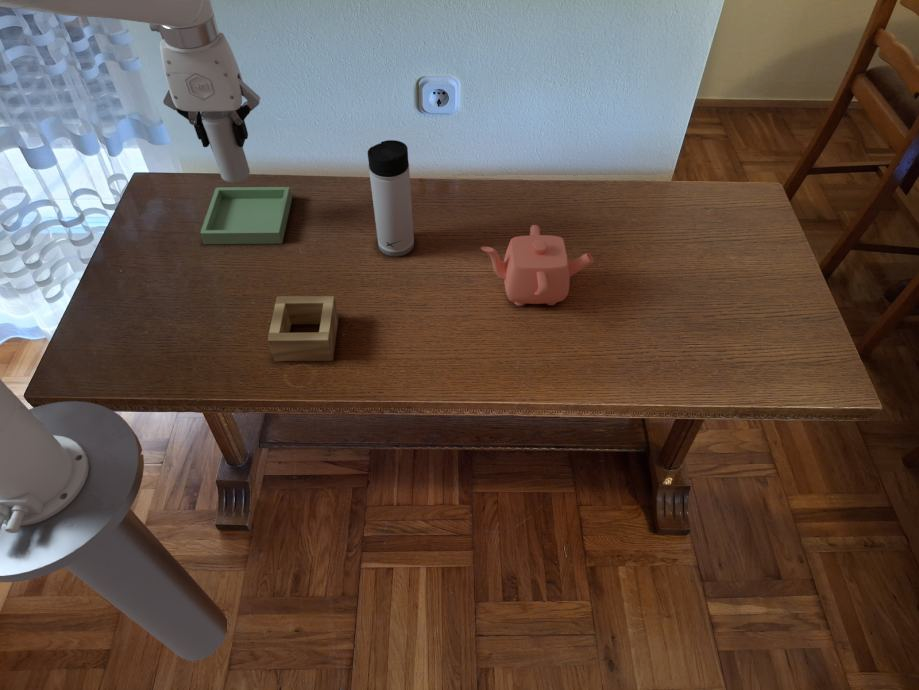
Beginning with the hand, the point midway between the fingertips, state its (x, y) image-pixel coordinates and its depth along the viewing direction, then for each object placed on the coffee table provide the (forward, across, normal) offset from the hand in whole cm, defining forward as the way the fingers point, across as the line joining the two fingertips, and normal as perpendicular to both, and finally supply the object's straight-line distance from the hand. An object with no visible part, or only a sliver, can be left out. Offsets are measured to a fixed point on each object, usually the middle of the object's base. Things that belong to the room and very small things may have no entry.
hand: (224, 141), depth 106 cm
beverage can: (+7, 0, 0) cm, 7 cm away
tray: (+17, 0, 0) cm, 17 cm away
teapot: (+17, +50, -18) cm, 56 cm away
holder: (+17, +14, -28) cm, 35 cm away
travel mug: (+17, +27, -7) cm, 33 cm away
